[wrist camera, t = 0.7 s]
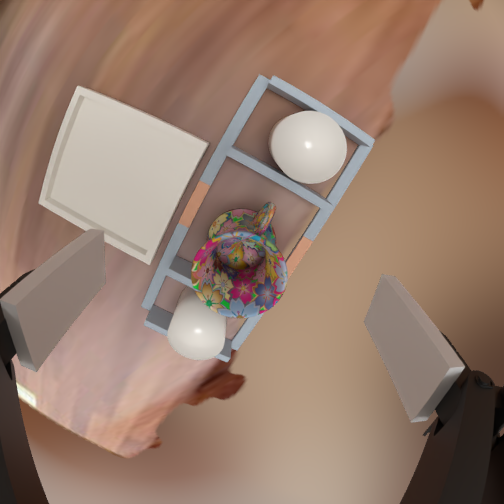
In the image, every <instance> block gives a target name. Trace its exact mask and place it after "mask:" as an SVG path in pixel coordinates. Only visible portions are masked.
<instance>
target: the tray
mask: <svg viewBox="0 0 504 504" xmlns="http://www.w3.org/2000/svg"><path fill="white" fill-rule="evenodd" d="M209 144H210V143H209V142H207V141H205V140H203V139H201V138H199V137H197V136H195V135H193V134H191V133H189V132H187V131H185V130H183V129H181V128H179V127H177V126H175V125H173V124H170V123H168V122H166V121H164V120H162V119H160V118H157V117H155V116H153V115H151V114H149V113H146V112H144V111H142V110H140V109H137V108H135V107H133V106H131V105H128V104H126V103H124V102H121V101H119V100H117V99H114V98H112V97H109V96H107V95H104V94H102V93H99V92H97V91H94V90H92V89H89V88H87V87H83V86H77V88H76V90H75V93H74V95H73V97H72V100H71V102H70V104H69V107H68V109H67V112H66V114H65V117H64V120H63V122H62V125H61V128H60V131H59V133H58V136H57V139H56V142H55V145H54V148H53V151H52V155H51V158H50V161H49V165H48V168H47V172H46V175H45V179H44V183H43V187H42V191H41V195H40V199H39V204H41V205H42V206H44V207H46V208H47V209H49V210H51V211H52V212H54V213H56V214H57V215H59V216H61V217H63V218H64V219H66V220H68V221H69V222H71V223H73V224H75V225H76V226H78V227H80V228H82V229H84V230H85V231H87V230H89V229H90V228H91V229H98V230H104V241H105V242H107V243H109V244H111V245H112V246H114V247H116V248H118V249H120V250H122V251H124V252H125V253H127V254H129V255H131V256H133V257H135V258H137V259H139V260H141V261H143V262H144V263H146V264H148V265H150V264H151V262H152V261H153V259H154V257H155V255H156V253H157V250H158V248H159V246H160V244H161V241H162V239H163V237H164V235H165V233H166V230H167V228H168V226H169V224H170V222H171V220H172V217H173V215H174V213H175V211H176V209H177V207H178V205H179V203H180V201H181V199H182V197H183V195H184V192H185V190H186V188H187V186H188V184H189V182H190V180H191V178H192V177H193V175H194V173H195V171H196V169H197V167H198V165H199V163H200V161H201V159H202V157H203V155H204V153H205V152H206V150H207V148H208V146H209Z"/></svg>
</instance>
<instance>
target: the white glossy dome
mask: <svg viewBox="0 0 504 504" xmlns="http://www.w3.org/2000/svg"><path fill="white" fill-rule="evenodd" d="M268 146H269V151H270V154H271V156H272V158H273V159H274V161H275V162H276V163H277V164H278V166H279V167H280V168H281V169H282V171H283V172H284V173H285V174H286V175H288V176H289V177H290V178H292V179H294V180H296V181H298V182H301V183H307V184H315V183H320V182H324V181H326V180H328V179H330V178H331V177H333V176H334V175H335V174H336V173H337V172H338V171H339V170H340V168H341V167H342V165H343V163H344V161H345V158H346V152H347V144H346V139H345V135H344V133H343V131H342V129H341V128H340V126H339V125H338V124H337V123H336V122H335V121H334V120H333V119H332V118H331V117H329V116H327V115H326V114H323V113H321V112H317V111H302V112H298V113H295V114H292V115H289V116H287V117H284V118H282V119H281V120H279V121H278V122H277V123H276V124H275V125H274V127H273V128H272V130H271V132H270V135H269V139H268Z"/></svg>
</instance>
